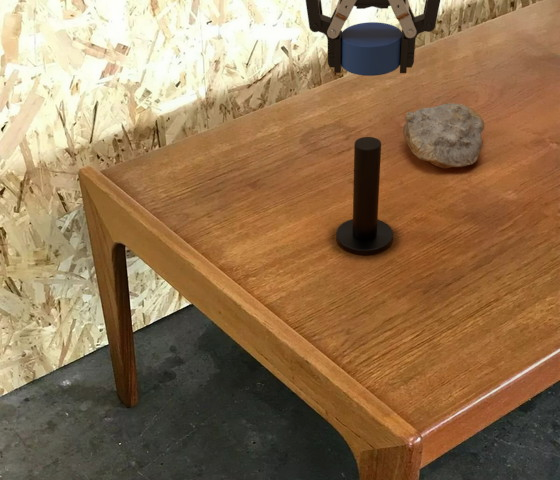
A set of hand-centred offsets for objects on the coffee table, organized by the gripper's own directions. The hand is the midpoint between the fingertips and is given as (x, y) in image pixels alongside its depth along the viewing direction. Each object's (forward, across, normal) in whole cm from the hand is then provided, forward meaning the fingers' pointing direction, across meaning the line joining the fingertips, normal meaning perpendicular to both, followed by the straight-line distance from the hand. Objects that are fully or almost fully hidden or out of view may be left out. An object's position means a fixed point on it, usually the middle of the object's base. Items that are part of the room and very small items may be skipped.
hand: (370, 69), depth 83 cm
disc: (-1, 0, 0) cm, 1 cm away
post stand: (+21, 0, 0) cm, 21 cm away
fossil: (+22, +10, +21) cm, 32 cm away
